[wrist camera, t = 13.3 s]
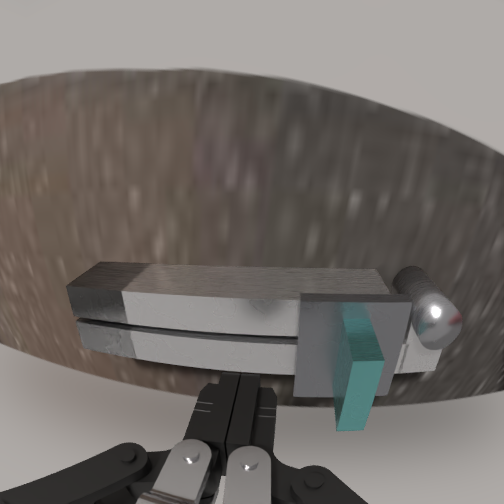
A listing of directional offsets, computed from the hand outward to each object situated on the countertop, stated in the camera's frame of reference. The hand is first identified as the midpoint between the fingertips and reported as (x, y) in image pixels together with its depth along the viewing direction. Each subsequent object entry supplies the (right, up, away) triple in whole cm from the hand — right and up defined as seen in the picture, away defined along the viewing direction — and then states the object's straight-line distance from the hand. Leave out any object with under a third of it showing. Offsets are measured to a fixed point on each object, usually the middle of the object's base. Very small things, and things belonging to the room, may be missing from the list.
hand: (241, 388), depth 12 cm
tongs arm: (-1, +4, +7) cm, 8 cm away
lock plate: (+5, +1, +2) cm, 6 cm away
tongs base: (+1, +3, +7) cm, 8 cm away
